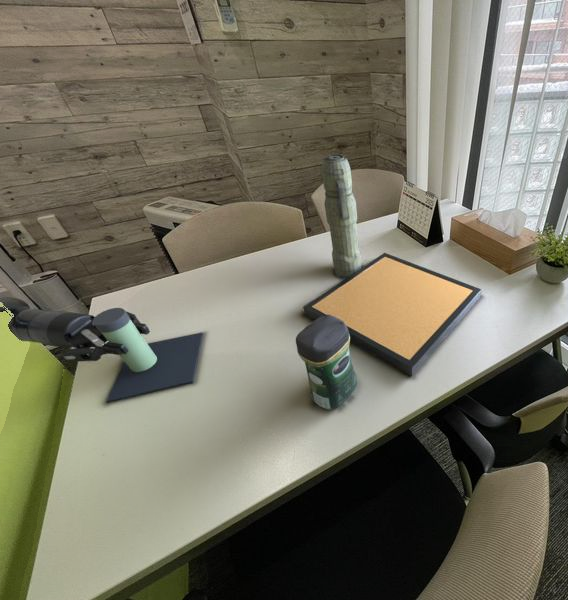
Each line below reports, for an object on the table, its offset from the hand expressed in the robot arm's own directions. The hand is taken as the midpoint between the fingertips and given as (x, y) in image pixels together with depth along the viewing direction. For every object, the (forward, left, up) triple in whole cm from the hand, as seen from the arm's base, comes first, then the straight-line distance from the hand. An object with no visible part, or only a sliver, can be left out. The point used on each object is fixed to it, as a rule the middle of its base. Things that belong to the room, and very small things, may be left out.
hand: (136, 339), depth 67 cm
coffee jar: (+37, -18, -11) cm, 42 cm away
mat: (0, +2, -10) cm, 11 cm away
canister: (-2, +1, -8) cm, 8 cm away
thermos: (+49, +27, -11) cm, 57 cm away
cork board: (+58, +5, -11) cm, 59 cm away
